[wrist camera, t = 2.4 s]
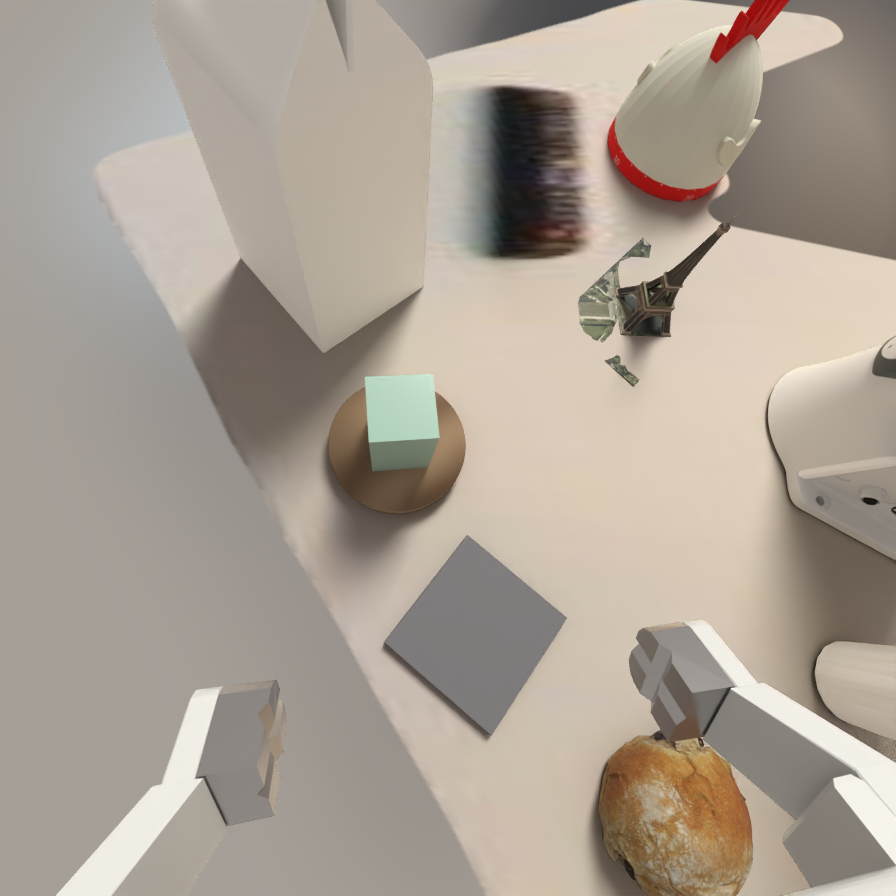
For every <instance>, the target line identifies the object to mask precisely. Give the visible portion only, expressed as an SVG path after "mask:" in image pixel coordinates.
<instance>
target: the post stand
mask: <svg viewBox="0 0 896 896" xmlns="http://www.w3.org/2000/svg"><path fill="white" fill-rule="evenodd" d="M435 399H436V408H437V417H438V427H439V436H440V438H439V441H438V443H437V446H436V449H435V451H434V454H433V456H432V459H431V461H430V464H429V466H428V467H426V468H412V469H399V470H385V471H372V464H371V456H370V448H369V437H368V421H367V405H366V389H365V388H363V389H361V390H359V391H358V392H356V393H355V394H353V395H352V396H351V397H350V398H349V399H348V400H347V401H346V402H345V403H344V404H343V405H342V406H341V408H340V409H339V411H338V412H337V414H336V416H335V418H334V420H333V422H332V425H331V429H330V433H329V440H328V450H329V457H330V461H331V465H332V467H333V470H334V472H335V474H336V476H337V478H338V480H339V482H340V483H341V485H342V486H343V488H344V489H345V490H346V491H347V492H348V493H349V494H350V495H351V496H352V497H353V498H354V499H355V500H357V501H358V502H360V503H361V504H363V505H365V506H367V507H369V508H371V509H374V510H376V511H380V512H385V513H393V514H398V513H409V512H414V511H417V510H420V509H423V508H425V507H427V506H429V505H431V504H433V503H434V502H436V501H437V500H438V499H440V498H441V497H442V496H443V495H444V494H445V493H446V492H447V491H448V490H449V488H450V487H451V486H452V484H453V483H454V482H455V480H456V479H457V477H458V475H459V473H460V471H461V468H462V465H463V462H464V457H465V448H466V445H465V435H464V430H463V427H462V424H461V421H460V419H459V417H458V415H457V414H456V412H455V411H454V409H453V408H452V406H451V405H450V404H449V403H448V402H447V401H446V400H445V399H444V398H443V397H442V396H441V395H439V394H438V393H437V392H435Z"/></svg>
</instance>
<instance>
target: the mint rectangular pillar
mask: <svg viewBox="0 0 896 896" xmlns="http://www.w3.org/2000/svg"><path fill="white" fill-rule="evenodd" d="M365 389H366V405H367V421H368V437H369V448H370V456H371V464H372V471H385V470H399V469H412V468H426V467H428V466H429V464H430V461H431V459H432V456H433V454H434V451H435V449H436V446H437V443H438V441H439V438H440V436H439V427H438V417H437V408H436V399H435V389H434V380H433V374H419V375H394V376H369V377H365Z"/></svg>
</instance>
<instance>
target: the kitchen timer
mask: <svg viewBox="0 0 896 896" xmlns="http://www.w3.org/2000/svg"><path fill="white" fill-rule="evenodd" d="M788 1H789V0H755V1H754V2H753V4H752V5H751V6H750V8H749V9H748V11H747V12H746V14H745V13H744V12H743V11H741V12H740V13H739V15H738V16H737V18H736V20H735V22H734V24H733V25H726V26H719V27H716V28H712V29H709V30H706V31H703V32H701V33H699V34H697V35H695V36H693V37H691V38H689V39H688V40H686V41H684V42H683V43H682V44H680V45H675V46H673V47H671V48H670V49H669V50H668V51H667V52H666V53H665V54H664V55H663V56H661V57H660V58H659V59H658V60H657V61H655V62H653V61H650V63H649V64H648V66H647V67H646V69H645V70H644V72H643V73H642V74H641V76H640V77H639V79H638V82H637V83H638V84H637V85H636V87H635V88H634V89H633V90H632V91H631V93H630V94H629V95H628V97H627V98H626V99H625V101H624V103H623V104H622V106H621V108H620V110H619V112H618V113H617V115H616V117H615V119H614V121H613V123H612V125H611V127H610V129H609V135H608V146H609V150H610V154H611V157H612V159H613V161H614V162H615V164H616V166H617V167H618V169H619V171H620V172H621V173H622V174H623V175H624V176H625V177H626V178H627V179H628V180H629V181H630V182H631V183H633V184H634V185H636V186H637V187H639V188H640V189H642V190H643V191H645V192H646V193H649V194H651V195H654V196H656V197H659V198H661V199H666V200H673V201H688V200H695V199H697V198H700V197H702V196H704V195H707V194H708V193H709V192H710V191H711V190H712V189H713V188H714V187H715V186H716V185H717V183H718V182H719V181H720V180H721V179H722V178H723V176H724V175H725V174H726V173H727V171H728V170H729V168H730V167H731V165H732V164H733V162H734V161H735V160H736V159H737V157H738V156H739V155H740V153H741V152H742V150H743V149H744V147H745V145H746V144H747V143H748V141H749V139H750V138H751V136H752V134H753V133H754V131H755V130H756V128H757V127H758V125H759V124H760V122H761V121H760V120H756V119H753V118H754V116H755V113H756V110H757V107H758V104H759V100H760V94H761V90H762V80H763V63H762V54H761V50H760V47H759V45H758V42H757V39H758V38H759V37H760V36H761V34H762V33H763V32H764V31H765V30H766V28H767V27H768V26H769V25H770V24H771V22H772V21H773V20H774V19H775V18H776V16H777V15H778V14H779V13H780V11H781V10H782V9H783V8H784V6H785V5H786V4H787V3H788Z"/></svg>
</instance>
